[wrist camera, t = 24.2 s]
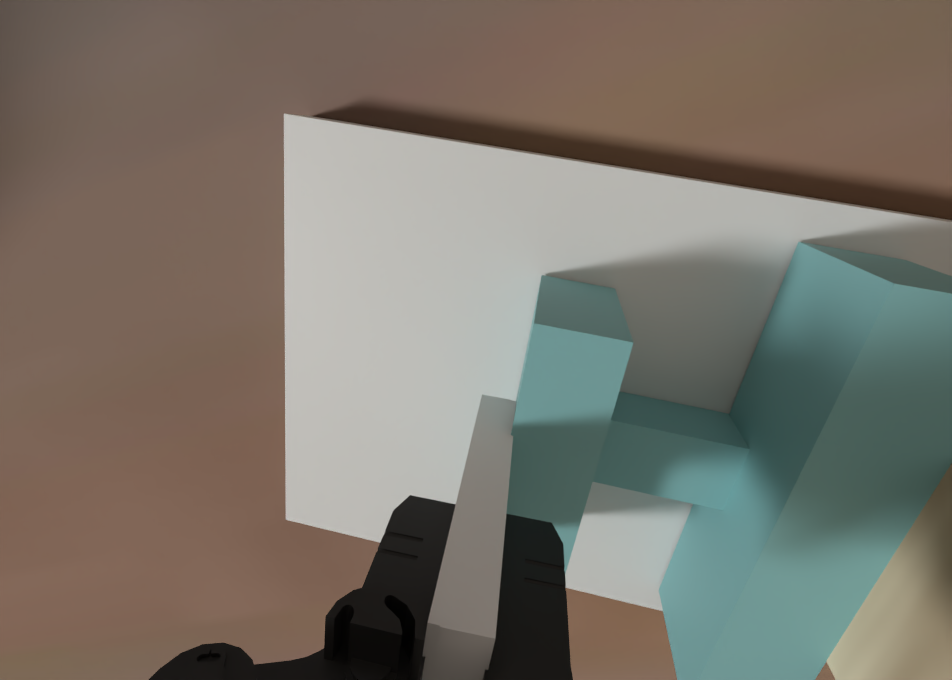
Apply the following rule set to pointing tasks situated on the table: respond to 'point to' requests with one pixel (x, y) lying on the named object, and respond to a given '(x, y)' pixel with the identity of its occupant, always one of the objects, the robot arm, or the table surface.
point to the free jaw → (754, 453)
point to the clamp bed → (517, 311)
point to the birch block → (907, 606)
